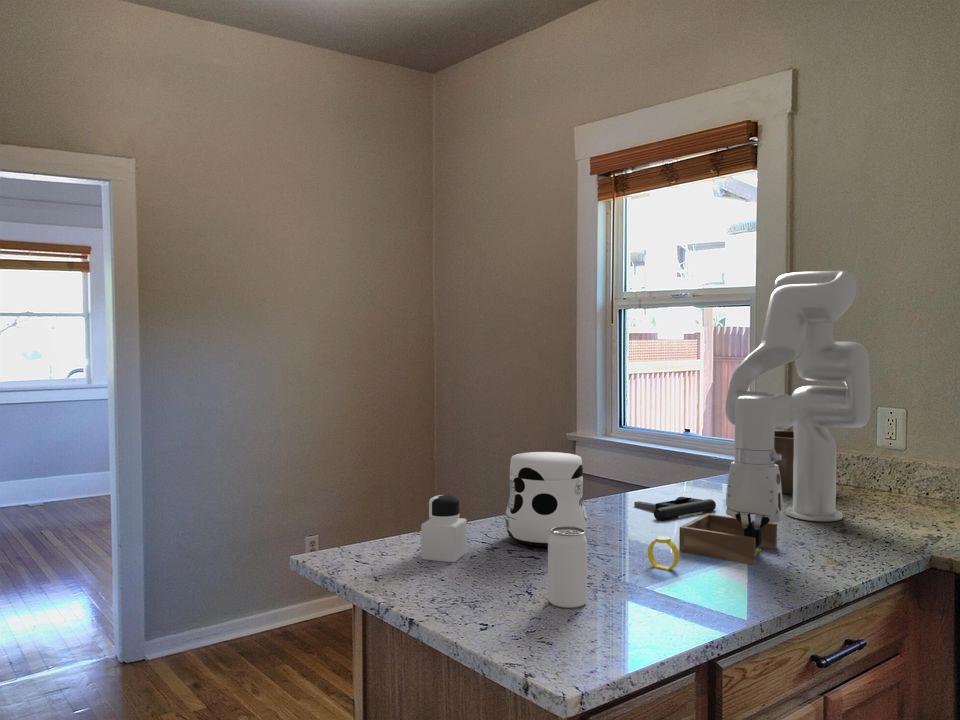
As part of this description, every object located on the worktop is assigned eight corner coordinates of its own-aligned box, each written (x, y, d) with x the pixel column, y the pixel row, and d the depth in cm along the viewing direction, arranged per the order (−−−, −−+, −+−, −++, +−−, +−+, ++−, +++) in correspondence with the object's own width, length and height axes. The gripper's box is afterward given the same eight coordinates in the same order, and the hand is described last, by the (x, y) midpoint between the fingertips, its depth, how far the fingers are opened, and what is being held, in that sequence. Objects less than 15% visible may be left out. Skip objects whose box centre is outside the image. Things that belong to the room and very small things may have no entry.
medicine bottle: (467, 553, 158) (467, 494, 158) (454, 563, 152) (454, 501, 151) (434, 550, 161) (434, 492, 160) (420, 559, 154) (420, 499, 154)
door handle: (617, 501, 197) (665, 509, 184) (672, 492, 208) (721, 499, 195) (617, 514, 197) (666, 524, 184) (673, 505, 208) (722, 513, 195)
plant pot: (817, 488, 224) (818, 432, 223) (820, 498, 210) (821, 439, 209) (762, 484, 229) (762, 429, 228) (760, 494, 215) (761, 436, 215)
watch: (646, 568, 149) (644, 537, 150) (653, 565, 152) (651, 534, 152) (674, 572, 145) (672, 540, 146) (681, 569, 147) (680, 537, 148)
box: (706, 535, 172) (706, 513, 172) (776, 547, 163) (777, 523, 163) (679, 551, 160) (679, 527, 160) (753, 564, 151) (753, 539, 151)
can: (544, 596, 133) (545, 526, 132) (582, 595, 134) (582, 525, 133) (551, 609, 127) (551, 536, 126) (590, 608, 127) (591, 535, 127)
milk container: (602, 540, 168) (603, 457, 168) (553, 557, 156) (553, 467, 155) (539, 526, 180) (539, 448, 179) (488, 541, 167) (488, 457, 167)
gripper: (798, 458, 156) (796, 549, 157) (723, 451, 165) (722, 537, 166) (787, 463, 150) (785, 558, 151) (710, 455, 159) (709, 545, 159)
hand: (752, 547), depth 158 cm, fingers closed
